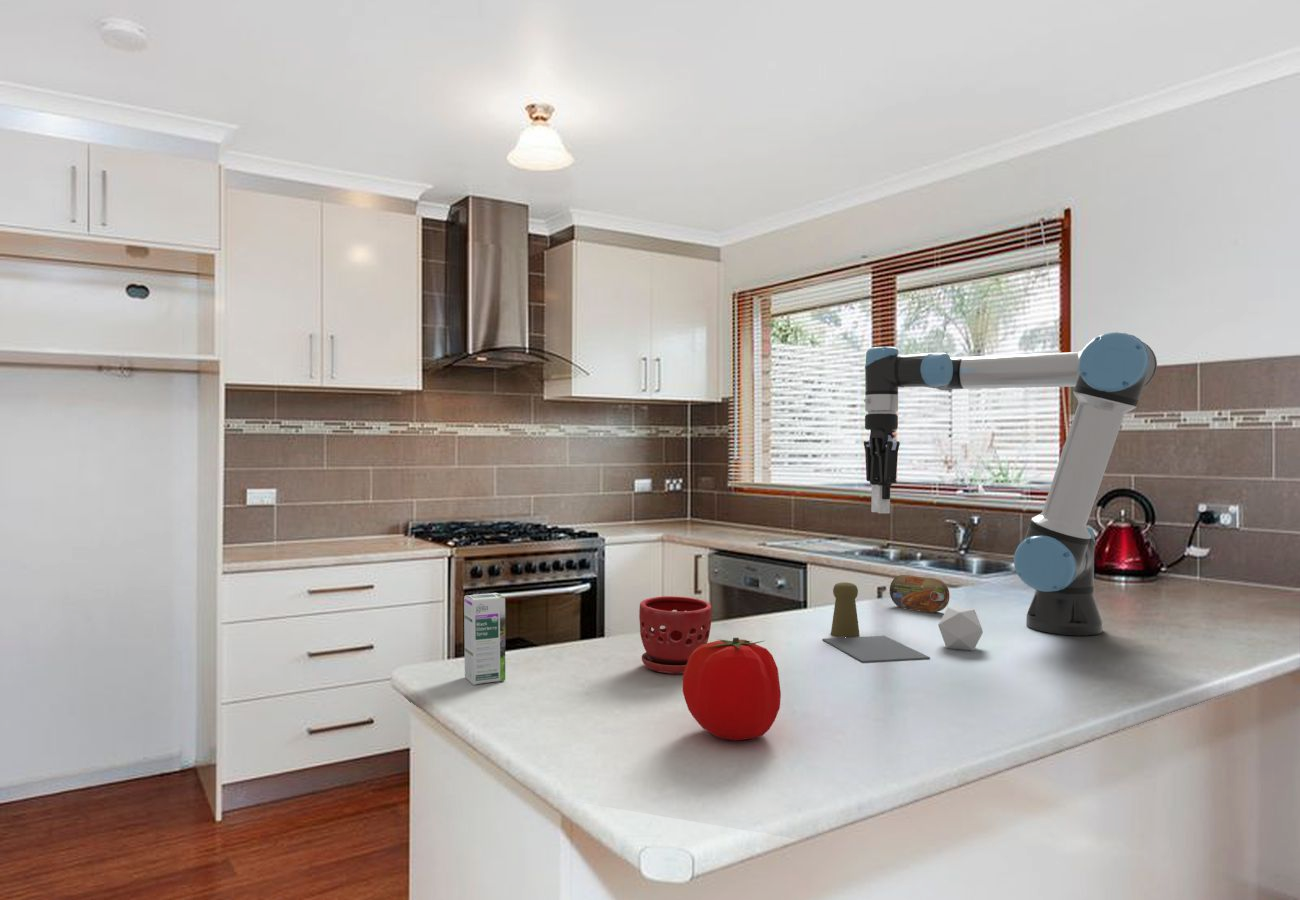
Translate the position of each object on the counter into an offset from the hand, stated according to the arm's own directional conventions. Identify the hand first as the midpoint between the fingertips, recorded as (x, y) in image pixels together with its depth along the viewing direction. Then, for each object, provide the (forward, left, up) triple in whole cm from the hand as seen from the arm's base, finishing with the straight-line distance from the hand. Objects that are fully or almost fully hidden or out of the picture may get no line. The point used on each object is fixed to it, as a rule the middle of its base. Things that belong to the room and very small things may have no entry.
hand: (880, 512), depth 199 cm
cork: (-6, +22, -25) cm, 34 cm away
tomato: (-32, +85, -25) cm, 94 cm away
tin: (-2, -14, -25) cm, 29 cm away
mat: (-17, +28, -25) cm, 41 cm away
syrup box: (+14, +98, -25) cm, 102 cm away
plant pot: (-2, +68, -25) cm, 72 cm away
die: (-28, +14, -25) cm, 40 cm away
